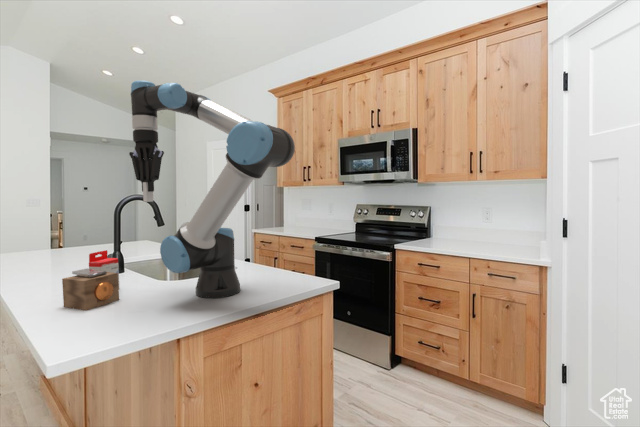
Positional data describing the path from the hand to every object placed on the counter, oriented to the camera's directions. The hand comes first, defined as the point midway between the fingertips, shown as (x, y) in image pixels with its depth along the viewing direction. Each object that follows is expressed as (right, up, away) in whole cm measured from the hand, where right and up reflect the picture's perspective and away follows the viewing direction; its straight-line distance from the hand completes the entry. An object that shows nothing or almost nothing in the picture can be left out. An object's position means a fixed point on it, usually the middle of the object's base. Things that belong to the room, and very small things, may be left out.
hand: (148, 201), depth 121 cm
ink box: (-19, -33, +8) cm, 39 cm away
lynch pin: (-15, -31, -5) cm, 35 cm away
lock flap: (-17, -24, -5) cm, 29 cm away
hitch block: (-16, -33, -4) cm, 37 cm away
